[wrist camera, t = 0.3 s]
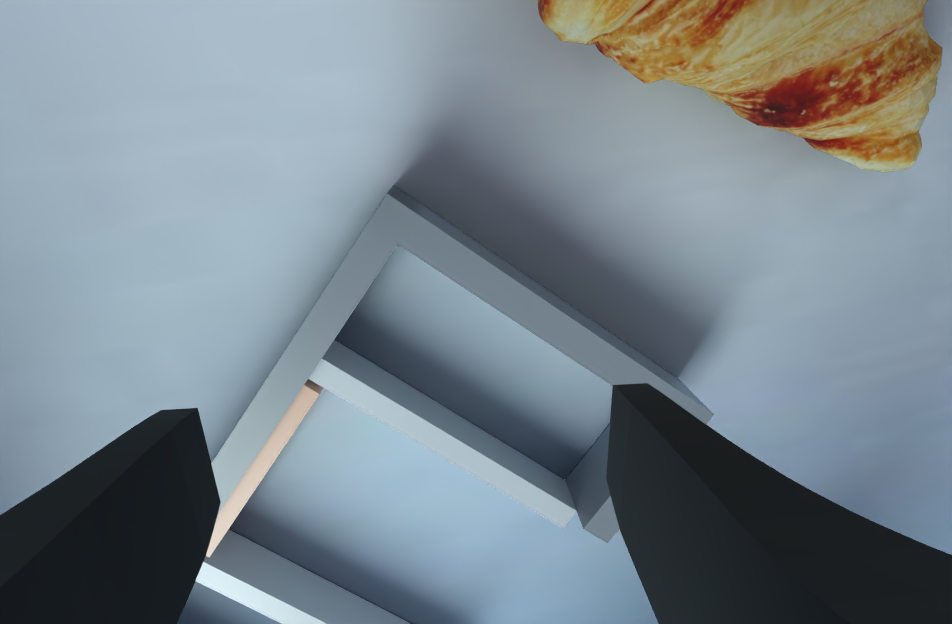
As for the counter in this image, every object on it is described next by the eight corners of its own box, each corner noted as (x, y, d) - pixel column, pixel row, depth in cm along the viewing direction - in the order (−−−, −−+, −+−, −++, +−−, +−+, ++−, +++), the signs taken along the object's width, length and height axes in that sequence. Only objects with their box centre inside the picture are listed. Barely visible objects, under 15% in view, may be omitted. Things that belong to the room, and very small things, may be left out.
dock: (375, 754, 26) (368, 830, 23) (104, 629, 24) (59, 697, 21) (678, 378, 23) (713, 414, 20) (393, 184, 20) (387, 193, 17)
